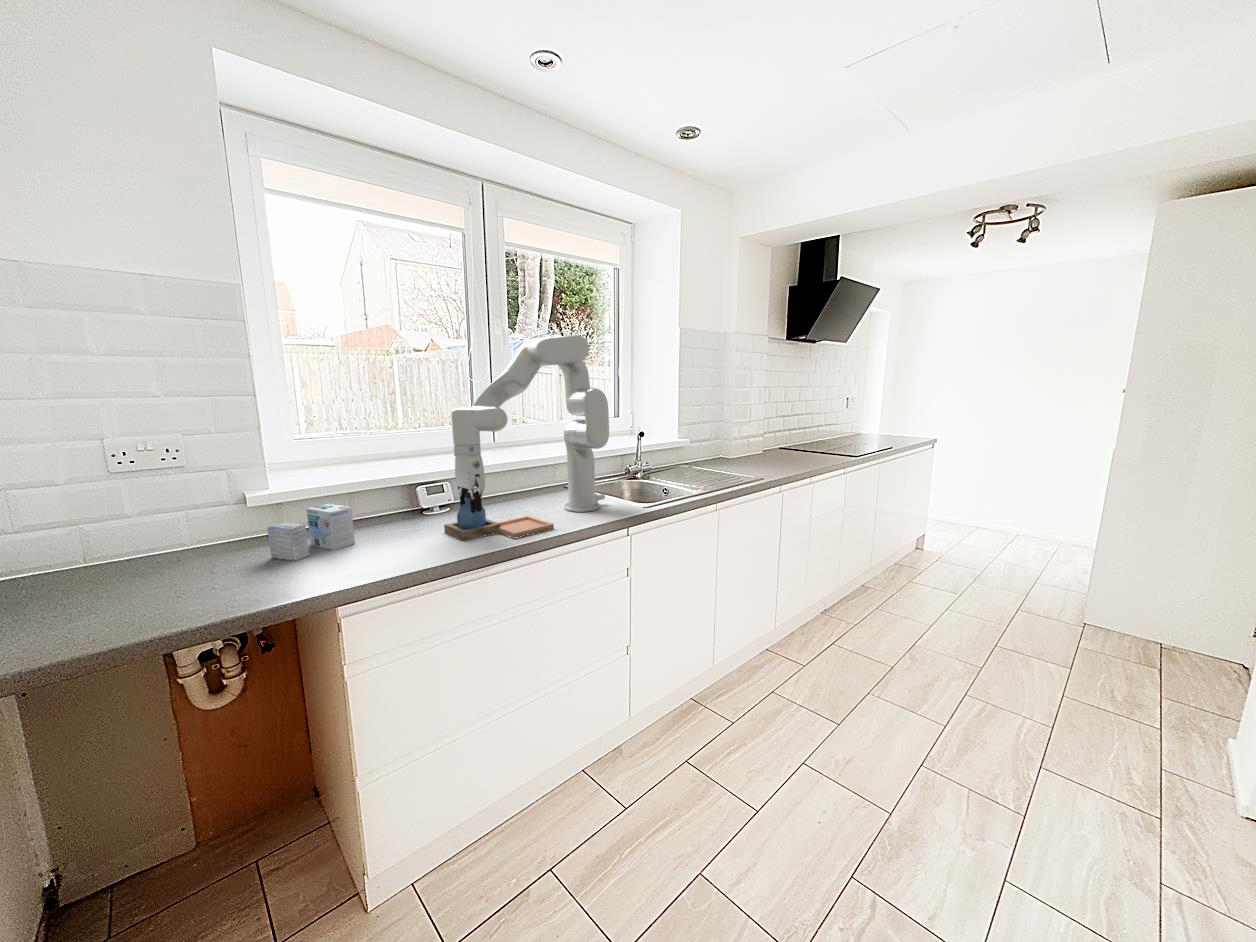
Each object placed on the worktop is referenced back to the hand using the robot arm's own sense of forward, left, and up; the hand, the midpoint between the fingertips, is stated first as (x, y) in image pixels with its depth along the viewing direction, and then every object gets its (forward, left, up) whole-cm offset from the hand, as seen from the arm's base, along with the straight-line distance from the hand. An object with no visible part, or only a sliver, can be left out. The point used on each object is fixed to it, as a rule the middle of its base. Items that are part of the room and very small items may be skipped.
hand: (471, 509), depth 150 cm
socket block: (0, 0, -7) cm, 7 cm away
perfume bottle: (0, 0, -7) cm, 7 cm away
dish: (-12, +8, -7) cm, 16 cm away
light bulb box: (+33, -18, -7) cm, 38 cm away
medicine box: (+44, -14, -7) cm, 47 cm away
